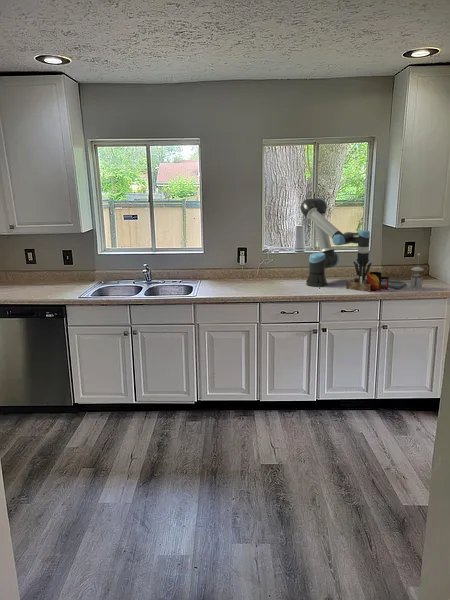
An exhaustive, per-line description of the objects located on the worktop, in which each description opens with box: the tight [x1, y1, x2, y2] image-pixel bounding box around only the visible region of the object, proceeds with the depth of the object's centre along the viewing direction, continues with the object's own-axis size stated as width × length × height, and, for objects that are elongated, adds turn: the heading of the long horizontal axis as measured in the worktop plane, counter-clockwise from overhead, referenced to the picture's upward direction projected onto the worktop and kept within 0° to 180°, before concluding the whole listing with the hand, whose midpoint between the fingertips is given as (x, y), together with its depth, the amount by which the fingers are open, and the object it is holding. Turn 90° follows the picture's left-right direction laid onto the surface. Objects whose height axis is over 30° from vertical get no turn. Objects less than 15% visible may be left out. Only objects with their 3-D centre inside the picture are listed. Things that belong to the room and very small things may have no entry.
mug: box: [366, 271, 390, 292], centre depth 301 cm, size 10×14×12 cm
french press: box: [408, 252, 425, 291], centre depth 299 cm, size 10×12×25 cm
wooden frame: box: [345, 277, 371, 293], centre depth 308 cm, size 17×16×5 cm
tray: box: [381, 279, 407, 290], centre depth 314 cm, size 20×16×2 cm
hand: (361, 284), depth 309 cm, fingers closed
